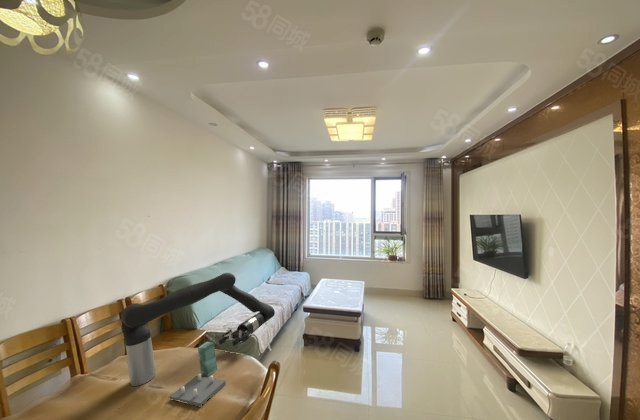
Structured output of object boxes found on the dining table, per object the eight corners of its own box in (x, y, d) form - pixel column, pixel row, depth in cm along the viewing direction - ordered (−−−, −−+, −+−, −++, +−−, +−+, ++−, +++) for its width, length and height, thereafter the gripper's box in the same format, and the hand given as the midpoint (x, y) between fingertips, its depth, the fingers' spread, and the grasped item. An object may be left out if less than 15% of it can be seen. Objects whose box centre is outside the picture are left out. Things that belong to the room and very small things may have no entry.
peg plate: (170, 400, 95) (168, 389, 96) (196, 379, 107) (195, 369, 107) (200, 407, 89) (199, 396, 89) (225, 384, 100) (224, 374, 100)
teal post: (201, 375, 109) (197, 347, 109) (210, 368, 113) (207, 341, 114) (208, 376, 107) (204, 348, 107) (217, 369, 112) (213, 342, 112)
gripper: (236, 319, 138) (213, 334, 124) (258, 320, 133) (236, 336, 118) (238, 333, 138) (216, 350, 123) (260, 335, 133) (239, 352, 118)
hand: (226, 343), depth 121 cm, fingers open, 8 cm apart
